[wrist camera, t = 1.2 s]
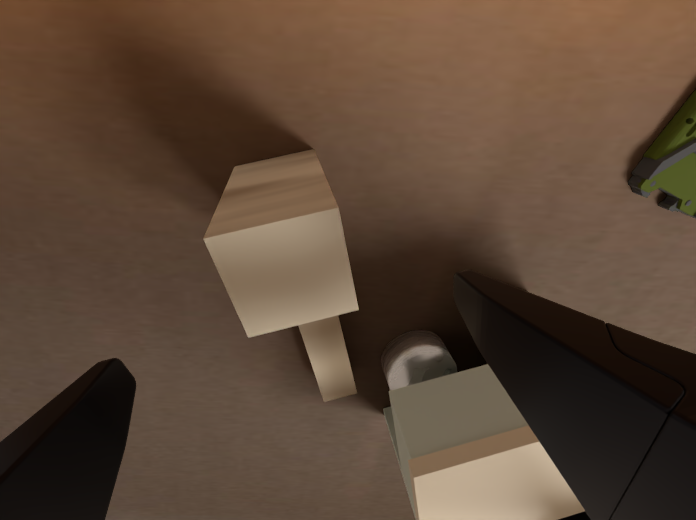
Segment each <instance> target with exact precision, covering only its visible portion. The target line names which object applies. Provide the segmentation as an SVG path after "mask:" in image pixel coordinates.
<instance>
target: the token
mask: <svg viewBox="0 0 696 520" xmlns="http://www.w3.org/2000/svg"><path fill="white" fill-rule="evenodd" d="M381 365H382V368H383V371H384V374H385V377H386V380H387V382H388V385H389V388H390V391H391V390H394V389H398V388H402V387H405V386H409V385H413V384H417V383H420V382H424V381H428V380H431V379H435V378H439V377H442V376H446V375H450V374H453V373H457V366H456V363H455V362H454V360H453V358H452V356H451V355H450V353H449V351H448V350H447V348H446V346H445V345H444V343H443V341H442V340H441V338H440V337H439V336H438V335H437V334H435V333H434V332H431V331H428V330H414V331H409V332H406V333H404V334H401V335H399V336H398V337H396V338H394V339H393V340H392V341H391V342H390V343H389V344H388V345H387V346H386V347H385V349H384V350H383V353H382V356H381Z"/></svg>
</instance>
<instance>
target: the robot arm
mask: <svg viewBox="0 0 696 520" xmlns="http://www.w3.org/2000/svg"><path fill="white" fill-rule="evenodd" d="M454 301H455V304H456V306H457V308H458V310H459V312H460V314H461V316H462V318H463V320H464V322H465V324H466V326H467V328H468V330H469V332H470V334H471V336H472V338H473V340H474V342H475V344H476V345H477V347H478V349H479V351H480V352H481V354H482V356H483V357H484V359H485V360H486V362H487V363H488V365H489V366H490V368H491V369H492V371H493V372H494V374H495V375H496V377H497V378H498V380H499V382H500V383H501V385H502V386H503V388H504V389H505V391H506V392H507V394H508V395H509V397H510V398H511V400H512V401H513V403H514V404H515V406H516V407H517V409H518V410H519V412H520V413H521V415H522V416H523V418H524V419H525V421H526V422H527V424H528V425H529V427H530V428H531V430H532V431H533V433H534V434H535V436H536V437H537V439H538V440H539V442H540V443H541V445H542V446H543V448H544V449H545V451H546V452H547V454H548V455H549V457H550V458H551V460H552V461H553V463H554V465H555V466H556V468H557V469H558V471H559V472H560V474H561V475H562V477H563V478H564V480H565V481H566V483H567V484H568V486H569V487H570V489H571V490H572V492H573V493H574V495H575V496H576V498H577V499H578V501H579V502H580V504H581V505H582V507H583V508H584V510H585V511H584V512H581V513H578V514H574V515H571V516H568V517H565V518H561V519H558V520H696V354H694V353H690V352H687V351H684V350H682V349H679V348H676V347H673V346H670V345H667V344H664V343H661V342H658V341H655V340H652V339H649V338H647V337H644V336H641V335H639V334H636V333H633V332H631V331H628V330H625V329H623V328H620V327H617V326H615V325H612V324H610V323H606V324H605V322H604V321H602V320H599V319H597V318H594V317H591V316H589V315H586V314H584V313H581V312H578V311H576V310H573V309H571V308H568V307H566V306H563V305H560V304H558V303H555V302H553V301H550V300H547V299H545V298H542V297H540V296H537V295H534V294H532V293H529V292H527V291H524V290H522V289H519V288H516V287H514V286H511V285H509V284H506V283H503V282H501V281H498V280H496V279H493V278H491V277H488V276H485V275H483V274H480V273H478V272H475V271H472V270H464V271H460V272H457V273H455V274H454ZM135 391H136V381H135V378H134V377H133V375H132V374H131V373H130V372H129V370H128V369H127V368H126V366H125V365H124V364H123V363H122V361H121V360H119V359H117V358H112V359H108V360H104V361H101V362H98V363H97V364H95V365H94V366H93V367H92V368H90V369H89V370H88V371H87V372H86V373H84V374H83V375H82V376H81V377H79V378H78V379H77V380H76V381H75V382H73V383H72V384H71V385H70V386H68V387H67V388H66V389H65V390H64V391H62V392H61V393H60V394H59V395H57V396H56V397H55V398H54V399H52V400H51V401H50V402H49V403H48V404H46V405H45V406H44V407H43V408H41V409H40V410H39V411H38V412H37V413H35V414H34V415H33V416H32V417H30V418H29V419H28V420H27V421H26V422H24V423H23V424H22V425H21V426H19V427H18V428H17V429H16V430H15V431H13V432H12V433H11V434H10V435H8V436H7V437H6V438H5V439H3V440H2V441H1V442H0V520H105V517H106V514H107V510H108V507H109V503H110V500H111V496H112V493H113V489H114V486H115V482H116V479H117V475H118V472H119V468H120V465H121V461H122V458H123V454H124V450H125V446H126V441H127V436H128V431H129V425H130V419H131V414H132V408H133V402H134V397H135Z"/></svg>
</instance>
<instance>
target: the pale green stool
mask: <svg viewBox="0 0 696 520" xmlns="http://www.w3.org/2000/svg"><path fill="white" fill-rule="evenodd" d="M527 292H528V291H527ZM389 397H390V403H391V407H387V408H383V411H384V416H385V420H386V423H387V426H388V429H389V433H390V436H391V439H392V443H393V446H394V449H395V453H396V456H397V459H398V463H399V466H400V469H401V473H402V476H403V479H404V482H405V486H406V489H407V492H408V496H409V499H410V502H411V506H412V509H413V512H414V516H415V519H416V520H558V519H561V518H565V517H568V516H571V515H574V514H578V513H581V512H584V511H585V510H584V508H583V507H582V505H581V504H580V502H579V501H578V499H577V498H576V496H575V495H574V493H573V492H572V490H571V489H570V487H569V486H568V484H567V483H566V481H565V480H564V478H563V477H562V475H561V474H560V472H559V471H558V469H557V468H556V466H555V465H554V463H553V461H552V460H551V458H550V457H549V455H548V454H547V452H546V451H545V449H544V448H543V446H542V445H541V443H540V442H539V440H538V439H537V437H536V436H535V434H534V433H533V431H532V430H531V428H530V427H529V425H528V424H527V422H526V421H525V419H524V418H523V416H522V415H521V413H520V412H519V410H518V409H517V407H516V406H515V404H514V403H513V401H512V400H511V398H510V397H509V395H508V394H507V392H506V391H505V389H504V388H503V386H502V385H501V383H500V382H499V380H498V378H497V377H496V375H495V374H494V372H493V371H492V369H491V368H490V366H489V365H488V364H487V365H483V366H479V367H475V368H472V369H468V370H464V371H461V372H457V373H453V374H450V375H446V376H442V377H439V378H435V379H431V380H428V381H424V382H420V383H417V384H413V385H409V386H405V387H402V388H398V389H394V390H391V391H389Z"/></svg>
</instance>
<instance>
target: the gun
mask: <svg viewBox="0 0 696 520" xmlns="http://www.w3.org/2000/svg"><path fill="white" fill-rule="evenodd" d="M632 175H633V176H632V177H631V178H630V180H629V181H628V185H630V186H631V189H632V192H634V193H636V194H638V195H641V196H644V197H646V198H647V197H648V196H649V195H650V193H651V191H654V190H656V189H660V191H661V190H662V191H663V192H665V193H666V194H667V197H666V199H665V200H664V201H662V202H660V203H659V204H658V206H660V207H662V208H665V209H667V210H670V211H677V212H678V211H680V212H682V213H684V214H686V215H688V216H691V217H693V218H696V89H695V91H694V92H693V93H692V94H691V96H690V97H689V98H688V99H687V101H686V102H685V103H684V105H683V106H682V107H681V108H680V110H679V111H678V112H677V113H676V115H675V116H674V117H673V118H672V120H671V121H670V122H669V123H668V125H667V126H666V127H665V128H664V130H663V131H662V132H661V133H660V135H659V136H658V137H657V139H656V140H655V141H654V142H653V144H652V145H651V146H650V147H649V149H648V150H647V151H646V152H645V154H644V155H643V159H642V160H641V161H640V163H639V164H638V165H637V166H636V168H635V169H634V170H633V171H632Z"/></svg>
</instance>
